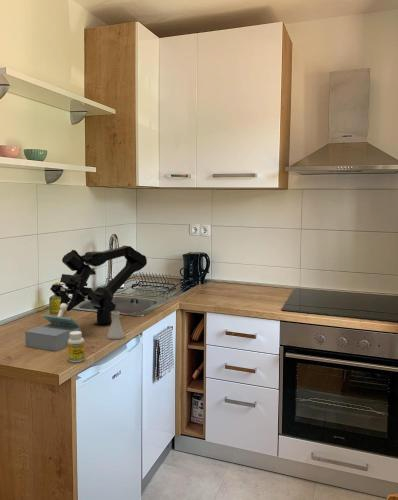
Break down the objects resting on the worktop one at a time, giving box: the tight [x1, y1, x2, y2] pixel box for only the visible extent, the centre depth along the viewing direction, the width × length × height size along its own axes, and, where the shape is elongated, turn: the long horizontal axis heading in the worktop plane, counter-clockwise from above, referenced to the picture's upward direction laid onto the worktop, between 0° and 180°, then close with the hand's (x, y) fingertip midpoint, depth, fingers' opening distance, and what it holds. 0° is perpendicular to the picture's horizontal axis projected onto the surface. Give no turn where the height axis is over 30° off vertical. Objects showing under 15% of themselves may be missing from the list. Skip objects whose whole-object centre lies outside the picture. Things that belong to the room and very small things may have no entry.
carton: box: [24, 322, 81, 352], centre depth 171 cm, size 14×14×6 cm
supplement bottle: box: [67, 330, 86, 363], centre depth 154 cm, size 5×5×10 cm
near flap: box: [41, 303, 81, 328], centre depth 177 cm, size 7×14×7 cm
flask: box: [106, 311, 126, 341], centre depth 178 cm, size 7×7×10 cm
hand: (63, 310), depth 176 cm, fingers closed on near flap, 3 cm apart
